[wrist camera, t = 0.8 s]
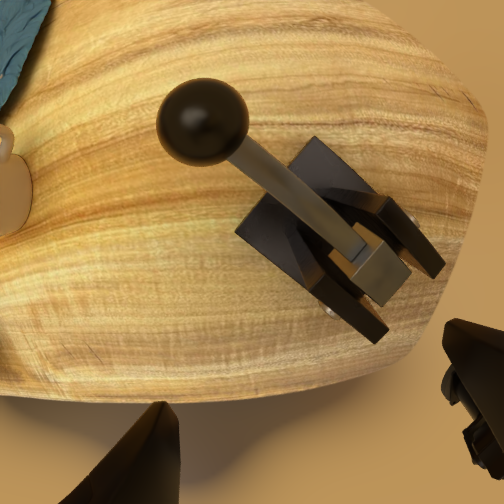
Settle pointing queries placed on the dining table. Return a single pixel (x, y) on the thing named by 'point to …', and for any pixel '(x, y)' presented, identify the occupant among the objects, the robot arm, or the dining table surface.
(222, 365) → the dining table surface
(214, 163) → the lever
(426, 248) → the bracket
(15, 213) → the mug
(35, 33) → the blue flat round piece
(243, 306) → the dining table surface
